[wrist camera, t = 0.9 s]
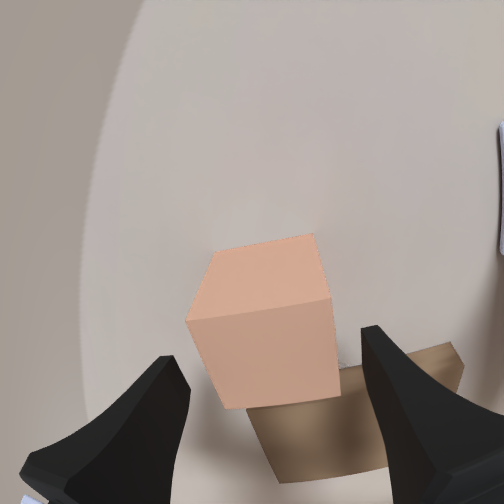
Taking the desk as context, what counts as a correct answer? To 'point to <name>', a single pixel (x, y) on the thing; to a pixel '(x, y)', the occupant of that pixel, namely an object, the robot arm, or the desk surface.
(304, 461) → the block
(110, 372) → the desk surface
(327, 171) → the desk surface
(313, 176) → the desk surface
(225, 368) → the terracotta block
